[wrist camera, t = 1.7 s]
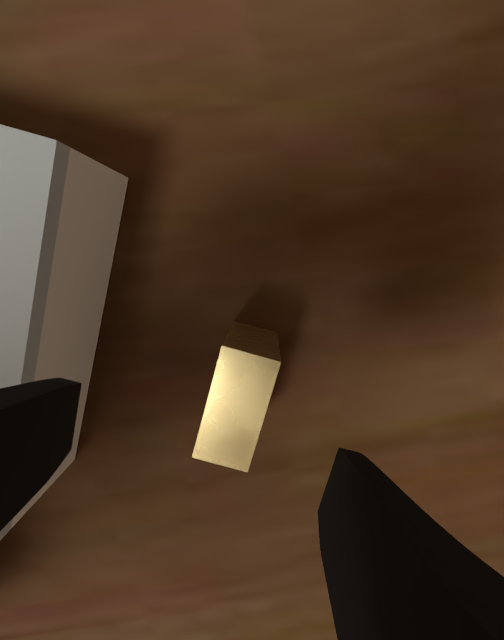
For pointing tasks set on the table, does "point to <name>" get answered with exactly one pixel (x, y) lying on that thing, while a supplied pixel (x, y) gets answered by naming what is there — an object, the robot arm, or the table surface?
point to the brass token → (238, 396)
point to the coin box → (53, 264)
